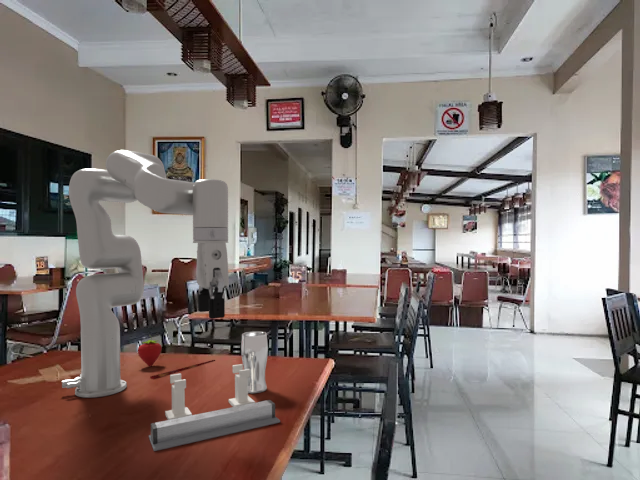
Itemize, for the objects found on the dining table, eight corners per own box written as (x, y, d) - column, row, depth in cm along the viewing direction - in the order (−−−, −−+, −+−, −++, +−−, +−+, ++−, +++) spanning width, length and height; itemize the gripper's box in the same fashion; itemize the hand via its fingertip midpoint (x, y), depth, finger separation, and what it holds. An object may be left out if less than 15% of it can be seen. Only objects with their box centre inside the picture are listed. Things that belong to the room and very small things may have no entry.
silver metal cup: (263, 394, 114) (262, 336, 114) (237, 393, 115) (237, 336, 115) (271, 386, 121) (270, 331, 121) (247, 385, 122) (246, 330, 122)
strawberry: (135, 366, 143) (134, 335, 144) (158, 362, 148) (157, 332, 148) (141, 370, 139) (140, 338, 139) (164, 365, 144) (164, 335, 144)
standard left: (169, 422, 97) (168, 382, 97) (164, 413, 102) (164, 375, 102) (192, 418, 99) (191, 378, 99) (186, 409, 104) (186, 372, 104)
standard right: (235, 409, 104) (234, 372, 104) (227, 401, 109) (227, 366, 109) (255, 405, 106) (254, 368, 106) (247, 398, 112) (246, 363, 112)
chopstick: (216, 361, 149) (216, 359, 149) (153, 380, 129) (153, 377, 129) (212, 361, 150) (212, 358, 150) (149, 379, 130) (149, 376, 130)
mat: (153, 451, 83) (153, 449, 83) (148, 437, 89) (148, 435, 89) (280, 422, 96) (280, 420, 96) (268, 411, 102) (268, 410, 102)
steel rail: (153, 444, 85) (153, 428, 85) (150, 438, 88) (150, 423, 88) (275, 417, 98) (275, 403, 98) (270, 412, 100) (269, 399, 100)
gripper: (239, 236, 91) (239, 319, 91) (217, 236, 106) (217, 307, 106) (202, 235, 87) (202, 322, 87) (185, 236, 102) (185, 310, 102)
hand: (210, 314), depth 97 cm, fingers open, 9 cm apart
